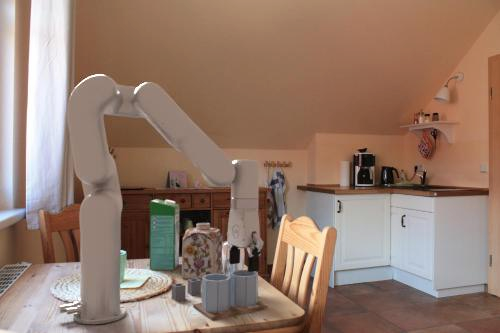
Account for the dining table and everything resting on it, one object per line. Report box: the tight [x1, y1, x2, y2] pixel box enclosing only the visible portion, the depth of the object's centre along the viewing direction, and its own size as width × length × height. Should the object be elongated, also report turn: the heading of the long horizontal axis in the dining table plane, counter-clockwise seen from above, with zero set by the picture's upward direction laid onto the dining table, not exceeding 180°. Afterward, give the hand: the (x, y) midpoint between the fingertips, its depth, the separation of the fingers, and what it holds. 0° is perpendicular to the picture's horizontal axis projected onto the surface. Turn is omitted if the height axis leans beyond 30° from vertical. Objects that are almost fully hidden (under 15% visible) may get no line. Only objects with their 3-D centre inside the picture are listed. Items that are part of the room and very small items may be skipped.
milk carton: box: [149, 198, 180, 271], centre depth 157 cm, size 9×9×25 cm
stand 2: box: [186, 278, 202, 296], centre depth 125 cm, size 3×3×4 cm
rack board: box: [192, 300, 268, 321], centre depth 113 cm, size 17×11×1 cm, turn 122°
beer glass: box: [221, 240, 245, 276], centre depth 127 cm, size 7×7×15 cm
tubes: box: [201, 269, 259, 313], centre depth 113 cm, size 16×7×8 cm, turn 122°
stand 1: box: [171, 282, 187, 302], centre depth 120 cm, size 3×3×4 cm
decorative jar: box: [181, 222, 224, 281], centre depth 146 cm, size 12×12×18 cm
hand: (243, 267), depth 115 cm, fingers open, 9 cm apart
